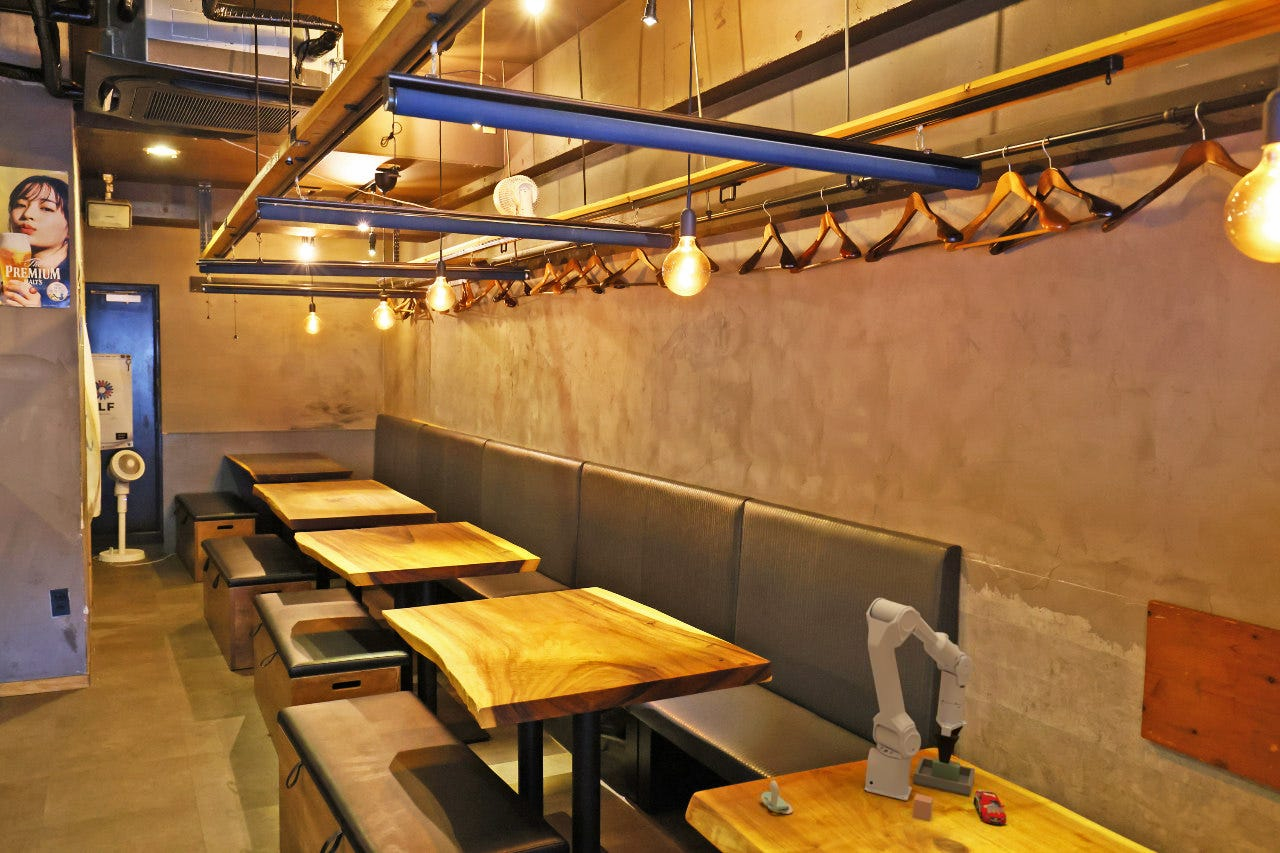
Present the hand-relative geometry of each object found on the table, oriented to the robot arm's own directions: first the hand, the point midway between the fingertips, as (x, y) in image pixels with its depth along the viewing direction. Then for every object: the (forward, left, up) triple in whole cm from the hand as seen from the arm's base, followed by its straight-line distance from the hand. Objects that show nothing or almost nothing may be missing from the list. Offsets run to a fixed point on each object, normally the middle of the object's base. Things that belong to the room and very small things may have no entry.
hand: (945, 757), depth 226 cm
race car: (+11, -13, -6) cm, 18 cm away
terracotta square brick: (-2, -24, -6) cm, 25 cm away
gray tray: (0, 0, -6) cm, 6 cm away
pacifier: (-30, -39, -6) cm, 49 cm away
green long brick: (0, 0, -5) cm, 5 cm away
